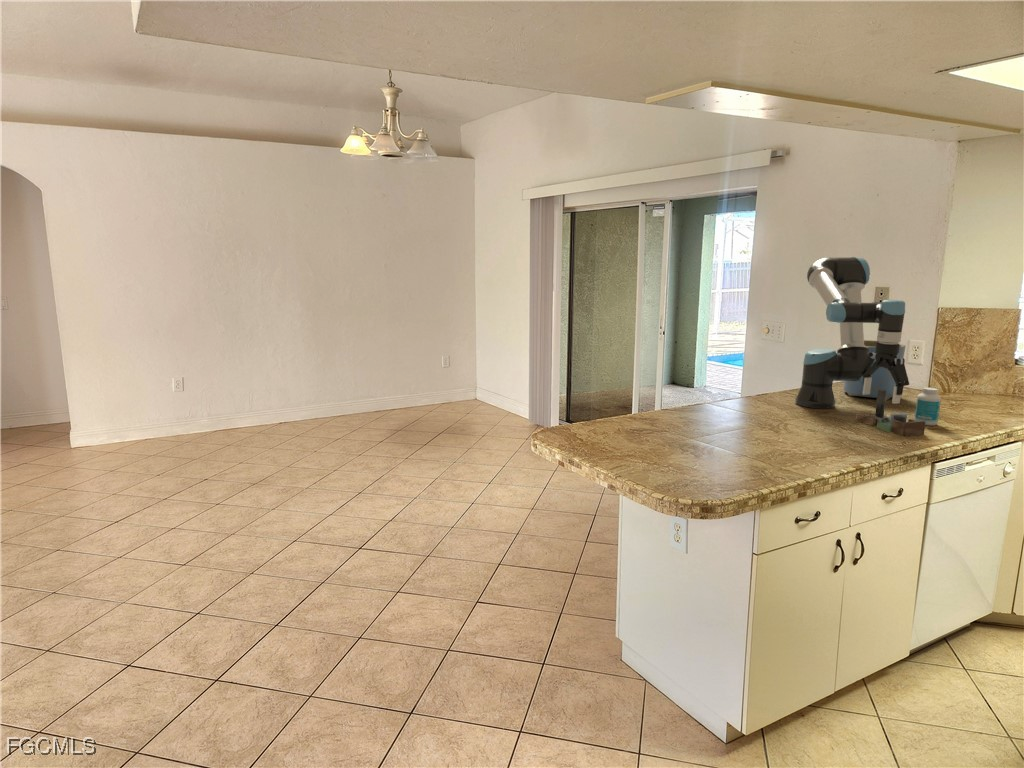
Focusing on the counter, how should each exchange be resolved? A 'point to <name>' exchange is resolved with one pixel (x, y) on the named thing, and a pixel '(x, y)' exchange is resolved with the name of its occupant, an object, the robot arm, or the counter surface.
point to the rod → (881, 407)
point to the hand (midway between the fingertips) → (880, 398)
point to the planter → (875, 377)
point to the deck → (885, 426)
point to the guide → (866, 418)
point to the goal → (908, 427)
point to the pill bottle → (928, 406)
